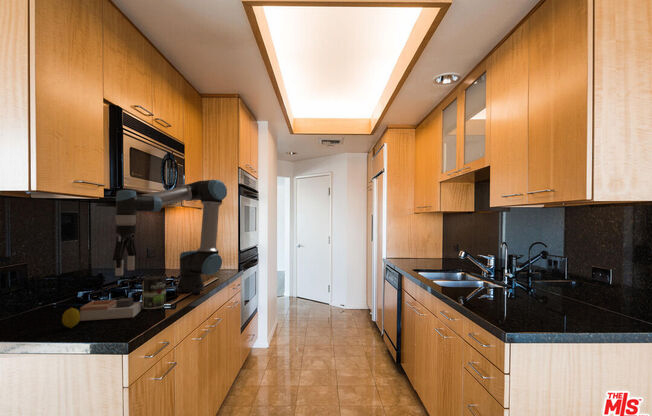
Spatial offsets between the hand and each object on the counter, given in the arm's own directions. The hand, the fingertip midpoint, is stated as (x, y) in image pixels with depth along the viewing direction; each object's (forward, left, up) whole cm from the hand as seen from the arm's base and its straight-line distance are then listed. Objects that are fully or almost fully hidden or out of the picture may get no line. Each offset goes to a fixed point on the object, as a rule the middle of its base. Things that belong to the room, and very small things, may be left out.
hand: (125, 272), depth 142 cm
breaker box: (+5, 0, -19) cm, 19 cm away
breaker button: (0, 0, -18) cm, 18 cm away
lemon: (+14, +14, -19) cm, 27 cm away
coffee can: (-9, -11, -19) cm, 24 cm away
